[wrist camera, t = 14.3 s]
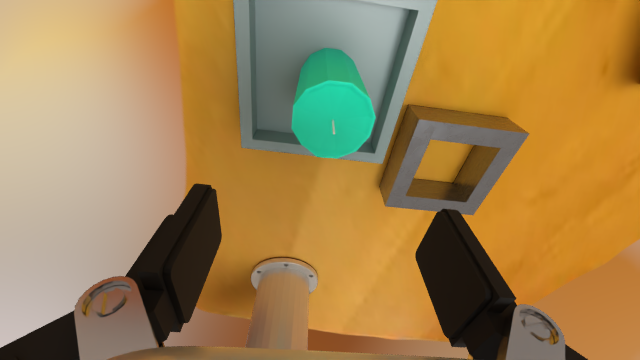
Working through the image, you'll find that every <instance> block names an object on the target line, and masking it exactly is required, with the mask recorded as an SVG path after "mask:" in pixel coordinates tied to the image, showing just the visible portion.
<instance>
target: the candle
mask: <svg viewBox="0 0 640 360" xmlns="http://www.w3.org/2000/svg"><path fill="white" fill-rule="evenodd" d="M375 118H376V116H375V113H374V110H373V106H372V103H371V100H370V97H369V95H368V92H367V90H366V88H365V86H364V83H363V81H362V79H361V77H360V74H359V72H358V70H357V68H356V65H355V63H354V61H353V60H352V59H351V58H350V57H349V56H348V55H347V54H345V53H344V52H343V51H342V50H338V49H331V48H323V49H321V50H319V51H317V52H315V53H313V54H310V56H309V57H308V59H307V60H306V62H305V63H304V65H303V66H302V68H301V72H300V77H299V81H298V86H297V90H296V95H295V100H294V104H293V114H292V127H291V129H292V130H293V132H294V134H295V135H296V137H297V139H298V140H299V142H300V144H301V145H302V146H304V147H305V148H306V149H308V150H309V151H310V152H311V153H313V154H314V155H315V156H317V157H323V158H340V157H342V156H345V155H348V154H351V153H353V152H356V151H357V150H358V149H359V148H360V147H361V146H362V144H363V143H364V142H365V141H366V140H367V139H368V138H369V137H370V135H371V131H372V128H373V125H374V122H375Z"/></svg>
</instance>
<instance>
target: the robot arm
mask: <svg viewBox="0 0 640 360" xmlns="http://www.w3.org/2000/svg"><path fill="white" fill-rule="evenodd" d="M221 237H222V234H221V226H220V218H219V210H218V202H217V194H216V190H215V189H212V187H211V185H205V184H194V185H193V187H192V188H191V190H190V191H189V193H188V194H187V196H186V197H185V199H184V200H183V202H182V203H181V205H180V207H179V208H178V209H177V211H176V213H175V214H174V215H168V216H167V217H166V218H165V219H164V221H163V222H162V223H161V225H160V227H159V228H158V229H157V231H156V232H155V234H154V235H153V237H152V238H151V239H150V241H149V242H148V244H147V245H146V247H145V248H144V250H143V251H142V253H141V254H140V256H139V257H138V258H137V260H136V261H135V263H134V264H133V266H132V267H131V269H130V270H129V272H128V273H127V274H126V276H125V277H124V276H118V277H111V278H108V279H105V280H102V281H100V282H98V283H97V284H95V285H93V286H92V287H90V288H89V289H88V290H87V291H86V292H84V294H83V295H82V296H81V297H80V298H79V300H78V302H77V304H76V305H75V310H74V311H73V312H70V313H69V314H67V315H65V316H63V317H61V318H59V319H57V320H55V321H53V322H51V323H49V324H47V325H45V326H43V327H41V328H39V329H37V330H35V331H33V332H31V333H29V334H27V335H25V336H23V337H21V338H19V339H17V340H15V341H13V342H11V343H9V344H7V345H5V346H3V347H1V348H0V360H588V359H586V358H585V357H583V356H582V355H580V354H579V353H577V352H576V351H574V350H573V349H571V348H570V347H569V346H567V345H566V344H565V340H564V335H563V333H562V332H561V330H560V328H559V327H558V326H557V324H556V323H555V322H554V321H553V320H552V319H551V318H550V317H549V316H548V315H546V314H545V313H544V312H542V311H541V310H539V309H537V308H535V307H533V306H530V305H526V304H520V305H518V306H517V305H516V303H515V302H514V300H515V299H516V297H515V296H514V294H513V293H512V291H511V290H510V288H509V287H508V285H507V284H506V282H505V280H504V279H503V277H502V276H501V274H500V273H499V271H498V270H497V268H496V267H495V265H494V264H493V262H492V261H491V259H490V258H489V256H488V255H487V253H486V252H485V250H484V248H483V247H482V245H481V244H480V242H479V241H478V239H477V238H476V236H475V235H474V233H473V232H472V230H471V229H470V227H469V226H468V224H467V223H466V221H465V220H464V218H463V217H462V215H461V213H460V212H459V211H458V210H454V209H442V210H441V211H439V212H437V213H436V215H435V217H434V219H433V221H432V223H431V224H430V226H429V228H428V230H427V232H426V234H425V236H424V238H423V239H422V241H421V243H420V245H419V247H418V249H417V251H416V261H417V263H418V266H419V269H420V272H421V274H422V277H423V280H424V282H425V285H426V288H427V290H428V293H429V296H430V298H431V301H432V304H433V306H434V309H435V312H436V314H437V317H438V320H439V322H440V325H441V328H442V330H443V333H444V335H445V336H446V337H447V338H449V341H450V343H451V346H452V347H467V349H468V352H469V355H468V359H460V358H442V357H424V356H406V355H405V356H404V355H388V354H367V353H348V352H327V351H307V341H308V312H309V294H310V293H311V292H313V291H314V290H315V288H316V287H317V284H318V276H317V273H316V271H315V270H314V269H313V268H312V267H311V266H310V265H308V264H306V263H304V262H302V261H299V260H296V259H291V258H274V259H269V260H266V261H263V262H261V263H260V264H258V265H257V266H256V267H255V268H254V269H253V271H252V275H251V282H252V285H253V286H254V288H255V289H256V290H257V293H256V298H255V303H254V308H253V312H252V317H251V322H250V327H249V332H248V337H247V342H246V347H245V348H240V347H204V346H202V347H201V346H177V347H165V345H164V343H163V342H164V341H165V340H167V338H168V336H169V333H170V332H180V331H181V329H182V326H183V324H184V323H188V322H189V320H190V318H191V316H192V314H193V311H194V309H195V306H196V303H197V301H198V298H199V296H200V293H201V291H202V288H203V286H204V283H205V281H206V278H207V276H208V273H209V271H210V268H211V265H212V263H213V260H214V258H215V255H216V253H217V250H218V248H219V245H220V242H221Z"/></svg>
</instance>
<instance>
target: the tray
mask: <svg viewBox="0 0 640 360" xmlns="http://www.w3.org/2000/svg"><path fill="white" fill-rule="evenodd" d="M233 2H234V20H235V38H236V56H237V74H238V92H239V110H240V127H241V145H242V148H249V149H257V150H266V151H275V152H284V153H292V154H301V155H310V156H315V155H314V154H313V153H311V152H310V151H309V150H308V149H306V148H305V147H304V146H302V145H301V144H300V142H299V140H298V139H297V137H296V135H295V134H294V132H293V130H292V129H291V127H292V114H293V104H294V100H295V95H296V90H297V86H298V81H299V77H300V72H301V68H302V66H303V65H304V63H305V62H306V60H307V59H308V57H309V56H310V54H313V53H315V52H317V51H319V50H321V49H323V48H331V49H338V50H342V51H343V52H344V53H345V54H347V55H348V56H349V57H350V58H351V59H352V60H353V61H354V63H355V65H356V68H357V70H358V72H359V74H360V77H361V79H362V81H363V83H364V86H365V88H366V90H367V92H368V95H369V97H370V100H371V103H372V106H373V110H374V113H375V116H376V118H375V122H374V125H373V128H372V131H371V135H370V137H369V138H368V139H367V140H366V141H365V142H364V143H363V144H362V146H361V147H360V148H359V149H358V150H357V151H356V152H353V153H351V154H348V155H345V156H342V157H340V158H336V159H345V160H354V161H363V162H371V163H380V164H382V163H383V160H384V157H385V154H386V151H387V148H388V145H389V143H390V140H391V137H392V134H393V131H394V128H395V125H396V122H397V119H398V116H399V113H400V110H401V107H402V104H403V101H404V98H405V95H406V92H407V89H408V86H409V83H410V80H411V77H412V74H413V71H414V68H415V65H416V62H417V59H418V56H419V53H420V50H421V47H422V45H423V42H424V39H425V36H426V33H427V30H428V27H429V24H430V21H431V18H432V15H433V12H434V9H435V6H436V3H437V0H233Z"/></svg>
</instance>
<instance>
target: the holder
mask: <svg viewBox="0 0 640 360" xmlns="http://www.w3.org/2000/svg"><path fill="white" fill-rule="evenodd" d="M528 135H529V133H528V132H526V131H525V130H523V129H522V128H521V127H519V126H518V125H516V124H515V123H514V122H512V121H511V120H509V119H508V118H504V117H496V116H489V115H482V114H474V113H467V112H459V111H452V110H444V109H437V108H430V107H422V106H415V105H408V107H407V110H406V113H405V116H404V118H403V121H402V124H401V127H400V130H399V133H398V135H397V138H396V141H395V144H394V147H393V150H392V153H391V155H390V158H389V161H388V164H387V167H386V170H385V172H384V175H383V178H382V181H381V184H380V190H381V194H382V197H383V200H384V204H385V206H388V207H398V208H408V209H418V210H428V211H438V212H439V211H441V210H442V209H454V210H458V211H459V212H460V213H461V214H467V215H474V213H475V212H476V210H477V209H478V207H479V206H480V205H481V203H482V202H483V200H484V199H485V197H486V196H487V194H488V193H489V192H490V190H491V189H492V187H493V186H494V184H495V183H496V181H497V180H498V178H499V177H500V176H501V174H502V173H503V171H504V170H505V168H506V167H507V165H508V164H509V163H510V161H511V160H512V158H513V157H514V155H515V154H516V152H517V151H518V150H519V148H520V147H521V145H522V144H523V142H524V141H525V139H526V138H527V137H528ZM430 139H432V140H440V141H448V142H456V143H464V144H472V145H474V147H473V149H472V151H471V152H470V154H469V156H468V158H467V159H466V161H465V163H464V165H463V166H462V168H461V170H460V172H459V174H458V175H457V177H456V179H455V181H454V182H453V183H448V182H439V181H429V180H420V179H413V178H414V175H415V173H416V171H417V169H418V166H419V164H420V162H421V160H422V157H423V155H424V153H425V151H426V148H427V146H428V144H429V141H430Z"/></svg>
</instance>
